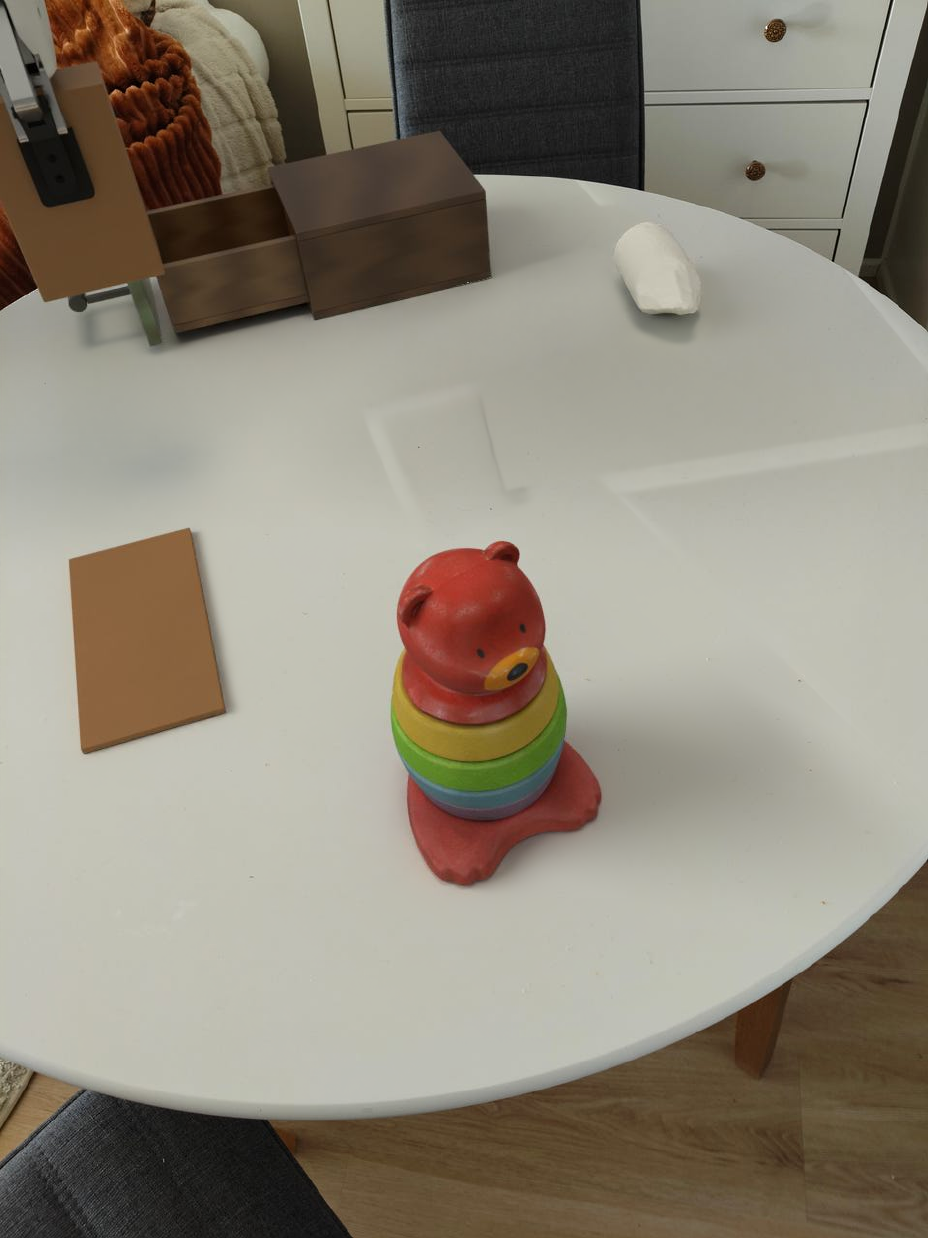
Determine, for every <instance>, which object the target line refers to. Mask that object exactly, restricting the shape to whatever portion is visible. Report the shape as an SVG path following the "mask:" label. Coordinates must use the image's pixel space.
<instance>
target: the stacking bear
mask: <svg viewBox="0 0 928 1238" xmlns="http://www.w3.org/2000/svg"><path fill="white" fill-rule="evenodd" d="M520 555H521V554H520V549H519V548H518V547H517V546H516V545H515V544H514V543H512V542H510V541H506V540H498V541H494V542H493V543H491V544H489V545H488V546H486V548H485V549H481V548H474V547H473V548H472V547H458V548H457V547H456V548H451V549H447V550H443V551H440V552H438V553H437V552H436V553H435V554H433V555H430V556H429V557H428V558H426V559H425V560H423V561H422V562H421V563H420V564H419V565H417V566H416V568H415V569H414V570H413V571H412V573H411V574H410V575H409V576H408V578H406V581H405V582H404V584H403V587H402V588H401V591H400V595H399V596H398V597H399V598H398V602H397V608H396V624H397V629H398V633H399V636H400V640H401V642H402V645H403V647H404V648H403V650H402V652H401V653H400V656H399V658H398V660H397V661H396V662H397V663H396V666H395V669H394V670H395V671H394V676H393V681H392V692H391V693H392V694H391V700H390V725H391V733H392V738H393V740H394V745H395V748H396V751H397V753H398V756H399V758H400V760H401V762H402V765H403V766H404V768H405V770H406V771H407V773H408V778H407V787H406V788H407V789H406V801H407V802H406V804H407V814H408V821H409V824H410V828H411V832H412V835H413V838H414V842H415V844H416V846H417V849H418V851H419V853H420V855H421V856H422V858H423V860H424V862H425V863H426V865H427V866H428V868H429V869H430V871H431V872H432V873H433V874H434V875H435V876H436V877H437V878H438V879H439V880H440V881H442V882H444V883H451V882H452V883H455V884H457V885H459V886H469V885H471V884H473V883H474V882H476V881H482V880H485V879H486V878H488V877H490V876H491V875H492V874H493V873H494V872H495V871H496V869H497V868H498V867H499V864H500V863H501V861H502V860H503V858H504V857H505V855H506V854H507V853H508V852H509V851H510V850H511V849H512V848H513V847H514V846H515V845H516V844H518V843H519V842H521V841H522V840H524V839H527V838H529V837H531V836H533V835H536V834H540V833H543V832H570V831H571V832H573V831H576V830H579V829H581V828H582V827H583V826H584V825H585V824H586V823H587V822H591V821H593V820H595V819H596V817H598V813H599V806H600V804H601V802H602V797H603V796H602V788H601V785H600V782H599V780H598V778H597V777H596V775H595V774H594V771H593V770H592V769H591V767H590V766H589V764H588V763H587V762H586V760H585V759H584V758H583V757H582V755H581V754H580V753H579V752H578V751H577V750H576V749H575V748H574V747H573V746H571V744H569V743H568V742H567V741H566V740H565V739H566V731H567V721H568V720H567V719H568V708H567V706H568V705H567V700H566V696H565V692H564V687H563V684H562V681H561V679H560V676H559V674H558V672H557V670H556V668H555V665H554V661H553V659H552V657H551V655H550V653H549V651H548V649H547V647H546V646H545V644H544V643H545V641H546V640H545V639H546V633H547V632H546V631H547V628H546V627H547V626H546V625H547V624H546V618H545V613H544V608H543V605H542V602H541V598H540V595H539V594H538V592H537V590H536V588H535V586H534V585H533V582H531V581H530V579H529V578H528V577H527V575H526V574H525V572H523V570H522V569H521V568H520V567H519V565H518V563H519V561H520Z"/></svg>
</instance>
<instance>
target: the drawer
mask: <svg viewBox="0 0 928 1238" xmlns="http://www.w3.org/2000/svg"><path fill="white" fill-rule="evenodd" d="M146 212H147V215H148V218H149V221H150V224H151V227H152V230H153V233H154V236H155V239H156V242H157V245H158V249H159V253H160V256H161V260H162V264H163V268H164V271H165V274H164V275H160V276H155V277H156V280H157V283H158V287H159V290H160V292H161V295H162V298H163V301H164V304H165V308H166V310H167V313H168V317H169V319H170V322H171V325H172V328H173V331H174V333H175V334H178V333H182V332H186V331H191V330H196V329H201V328H204V327H209V326H213V325H217V324H221V323H226V322H229V321H234V320H237V319H241V318H246V317H251V316H254V315H259V314H263V313H267V312H271V311H276V310H280V309H284V308H288V307H293V306H297V305H302V304H307V302H310V300H309V295H308V291H307V286H306V281H305V277H304V272H303V267H302V263H301V258H300V253H299V249H298V244H297V239H296V236H295V234H294V231H293V229H292V227H291V224H290V222H289V220H288V218H287V215H286V213H285V211H284V208H283V206H282V204H281V201H280V199H279V197H278V194H277V192H276V190H275V188H274V185H273V184H271V183H270V184H266V185H260V186H257V187H251V188H247V189H243V190H237V191H235V192H234V191H233V192H229V193H228V192H227V193H224V194H219V195H215V196H211V197H205V198H201V199H196V200H192V201H187V202H182V203H178V204H173V205H169V206H164V207H160V208H155V209H150V210H146ZM126 284H127V285H126V286H122V287H117V288H113V289H109V290H105V291H99V292H94V293H91V294H87V293H83V294H79V295H74V296H70V297H67V303H68V304H67V305H68V307H69V309H70V310H71V311H73V312H75V313H83V312H85V311H86V310H87V308H88V305H90V304H94V303H100V302H103V301H104V302H105V301H108V300H112V299H116V298H120V297H125V296H130V295H131V298H132V300H133V304H134V306H135V309H136V311H137V315H138V317H139V320H140V323H141V326H142V328H143V331H144V334H145V337H146V340H147V342H148V345H149V347H153V346H159V345H162V344H164V343H163V336H162V333H161V328H160V322H159V318H158V313H157V307H156V303H155V297H154V293H153V292H154V291H153V288H152V283H151V278H147V279H143V280H138V281H134V282H130V283H126Z"/></svg>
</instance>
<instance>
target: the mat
mask: <svg viewBox="0 0 928 1238" xmlns="http://www.w3.org/2000/svg"><path fill="white" fill-rule="evenodd" d="M68 570H69V571H68V572H69V584H70V600H71V602H70V603H71V616H72V631H73V632H72V633H73V645H74V647H73V648H74V663H75V679H76V695H77V708H78V709H77V710H78V727H79V741H80V742H79V744H80V751H81V753H83V754H84V755H85V754H87V753H92V752H95V751H98V750H102V749H105V748H108V747H109V748H110V747H112V746H115V745H119V744H122V743H126V742H128V741H132V740H136V739H140V738H143V737H145V736H150V735H152V734H156V733H160V732H163V731H166V730H169V729H173V728H177V727H180V726H183V725H184V726H185V725H187V724H190V723H193V722H197V721H201V720H204V719H207V718H211V717H214V716H217V715H221V714H224V713H226V712H227V709H226V705H225V700H224V694H223V689H222V684H221V683H222V682H221V679H220V674H219V669H218V664H217V663H218V662H217V658H216V657H217V656H216V653H215V647H214V643H213V637H212V633H211V627H210V622H209V617H208V616H209V615H208V612H207V606H206V600H205V595H204V591H203V586H202V581H201V575H200V570H199V565H198V560H197V555H196V550H195V544H194V538H193V534H192V530H191V528H190V527H185V528H182V529H178V530H175V531H170V532H166V533H163V534H159V535H155V536H152V537H147V538H144V539H140V540H136V541H132V542H129V543H125V544H121V545H118V546H114V547H110V548H106V549H103V550H98V551H95V552H91V553H87V554H84V555H80V556H76V557H73V558H69V559H68Z"/></svg>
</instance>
